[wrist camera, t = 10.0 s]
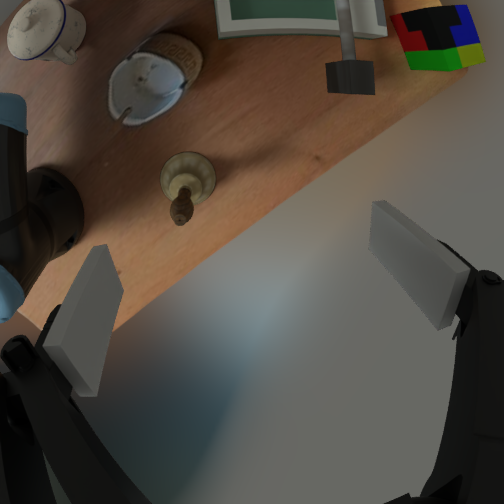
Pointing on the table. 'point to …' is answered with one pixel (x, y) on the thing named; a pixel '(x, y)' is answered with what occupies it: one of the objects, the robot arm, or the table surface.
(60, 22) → the teacup with lid
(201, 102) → the table surface
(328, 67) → the striker
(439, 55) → the puzzle toy
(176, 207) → the hand bell
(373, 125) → the table surface
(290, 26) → the pitch
